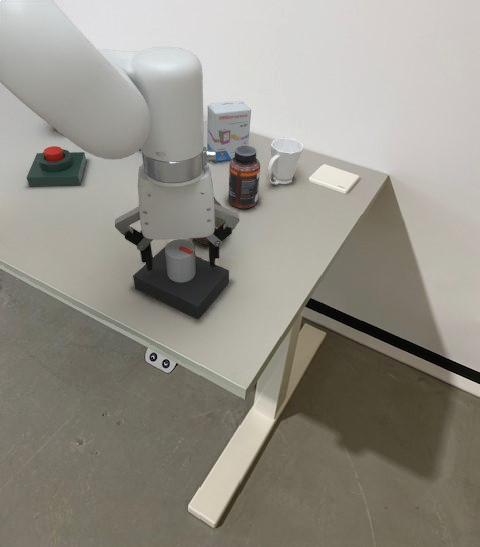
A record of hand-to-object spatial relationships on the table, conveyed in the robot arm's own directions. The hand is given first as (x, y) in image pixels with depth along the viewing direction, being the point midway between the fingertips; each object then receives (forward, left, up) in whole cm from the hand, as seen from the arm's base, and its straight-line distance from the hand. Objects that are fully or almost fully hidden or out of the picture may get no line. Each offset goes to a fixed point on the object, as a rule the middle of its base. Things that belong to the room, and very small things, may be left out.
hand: (181, 262), depth 64 cm
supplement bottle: (+13, +23, -5) cm, 27 cm away
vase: (+5, +12, -5) cm, 14 cm away
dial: (0, 0, -2) cm, 2 cm away
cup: (+22, +30, -5) cm, 38 cm away
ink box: (+12, +42, -5) cm, 44 cm away
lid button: (-25, +36, -2) cm, 44 cm away
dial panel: (0, 0, -5) cm, 5 cm away
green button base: (-25, +36, -5) cm, 44 cm away
